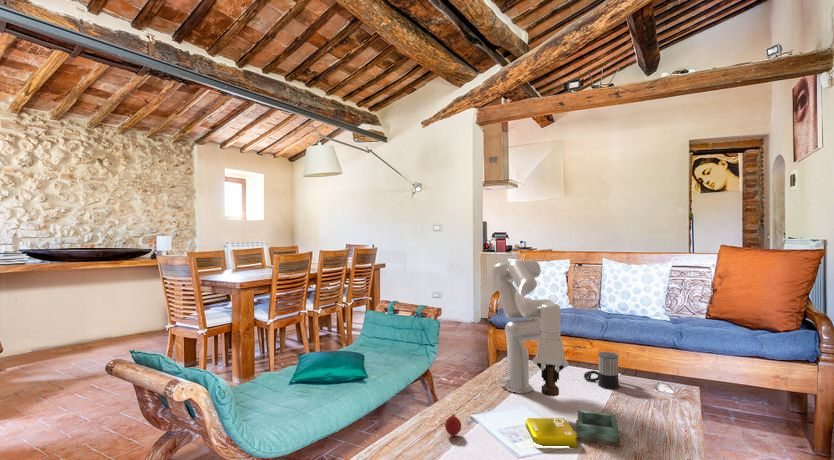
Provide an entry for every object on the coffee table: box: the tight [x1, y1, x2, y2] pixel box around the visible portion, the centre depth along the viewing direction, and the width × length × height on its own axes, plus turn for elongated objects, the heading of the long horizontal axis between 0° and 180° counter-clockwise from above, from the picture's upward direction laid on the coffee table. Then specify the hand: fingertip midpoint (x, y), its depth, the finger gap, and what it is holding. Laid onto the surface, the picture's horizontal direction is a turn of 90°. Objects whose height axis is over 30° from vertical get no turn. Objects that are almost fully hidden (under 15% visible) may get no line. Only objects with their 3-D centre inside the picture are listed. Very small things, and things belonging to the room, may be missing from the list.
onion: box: [444, 413, 462, 437], centre depth 152 cm, size 6×6×8 cm
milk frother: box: [583, 351, 620, 390], centre depth 201 cm, size 14×16×15 cm
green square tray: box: [575, 409, 622, 449], centre depth 151 cm, size 14×14×6 cm
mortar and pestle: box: [541, 364, 560, 397], centre depth 167 cm, size 7×6×18 cm
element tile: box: [525, 417, 578, 449], centre depth 150 cm, size 15×15×5 cm
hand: (550, 379), depth 167 cm, fingers closed on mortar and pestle, 3 cm apart
